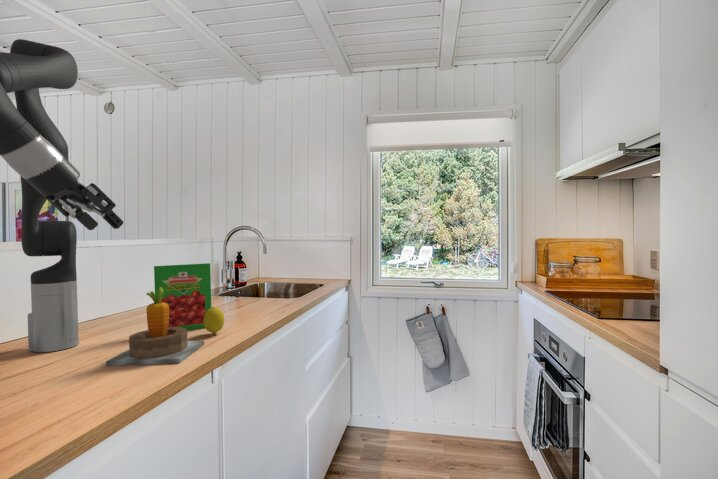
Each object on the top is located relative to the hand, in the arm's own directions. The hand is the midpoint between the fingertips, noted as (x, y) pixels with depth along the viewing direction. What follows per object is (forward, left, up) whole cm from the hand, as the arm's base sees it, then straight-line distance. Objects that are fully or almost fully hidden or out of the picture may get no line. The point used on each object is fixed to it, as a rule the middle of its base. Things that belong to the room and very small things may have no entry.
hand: (106, 226), depth 78 cm
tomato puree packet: (+2, +31, -31) cm, 44 cm away
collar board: (+6, +8, -31) cm, 32 cm away
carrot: (+6, +8, -30) cm, 31 cm away
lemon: (+13, +25, -31) cm, 42 cm away
